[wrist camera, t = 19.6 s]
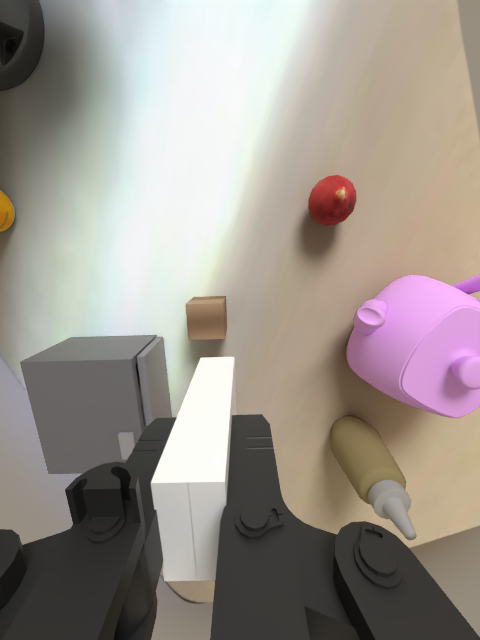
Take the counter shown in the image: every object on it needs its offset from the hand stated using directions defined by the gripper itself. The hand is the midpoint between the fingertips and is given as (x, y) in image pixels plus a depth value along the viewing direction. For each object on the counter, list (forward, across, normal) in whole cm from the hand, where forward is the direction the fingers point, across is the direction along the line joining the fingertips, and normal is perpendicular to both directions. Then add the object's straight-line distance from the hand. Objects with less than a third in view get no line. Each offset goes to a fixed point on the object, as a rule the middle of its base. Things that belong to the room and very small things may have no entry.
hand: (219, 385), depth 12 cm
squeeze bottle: (+30, +19, -25) cm, 43 cm away
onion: (+30, +13, +12) cm, 34 cm away
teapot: (+30, +25, -7) cm, 39 cm away
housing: (+29, -20, -15) cm, 39 cm away
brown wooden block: (+29, -4, -3) cm, 30 cm away
